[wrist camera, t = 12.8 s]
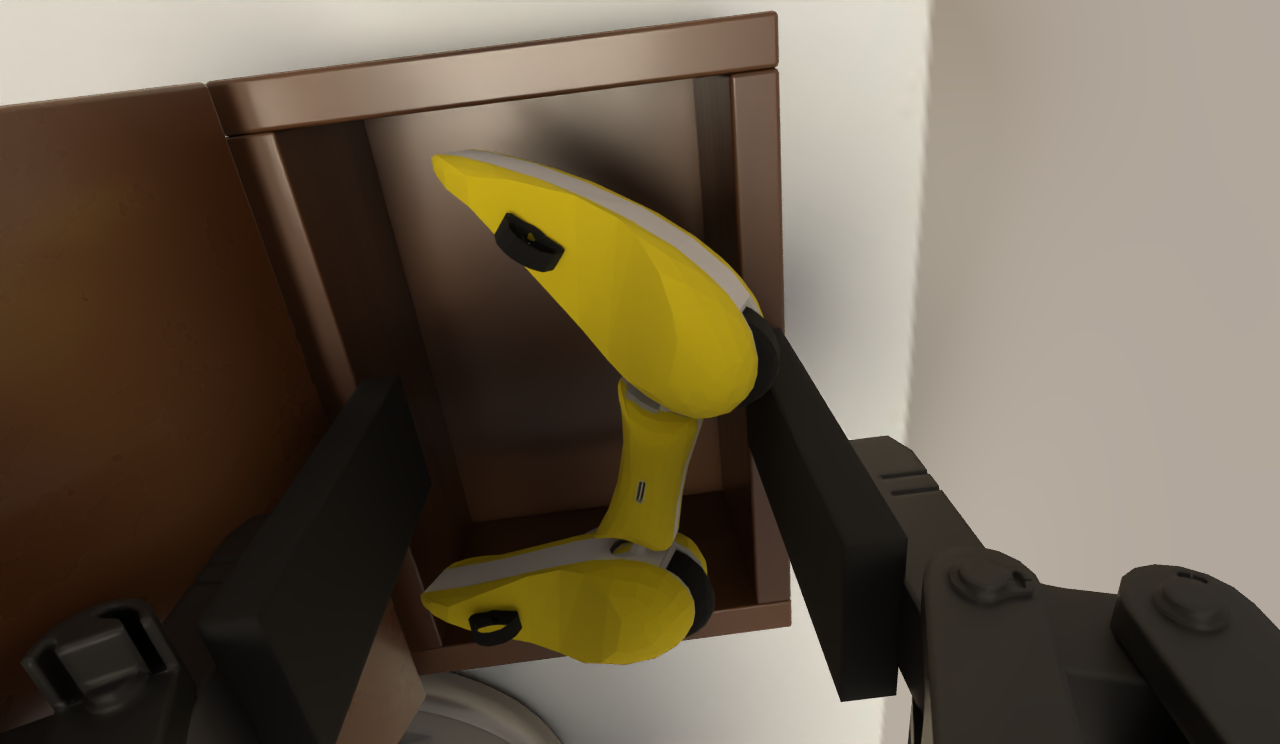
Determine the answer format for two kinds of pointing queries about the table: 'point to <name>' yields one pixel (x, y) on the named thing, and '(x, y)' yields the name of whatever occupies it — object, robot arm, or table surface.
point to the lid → (143, 377)
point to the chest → (519, 281)
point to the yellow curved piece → (650, 405)
